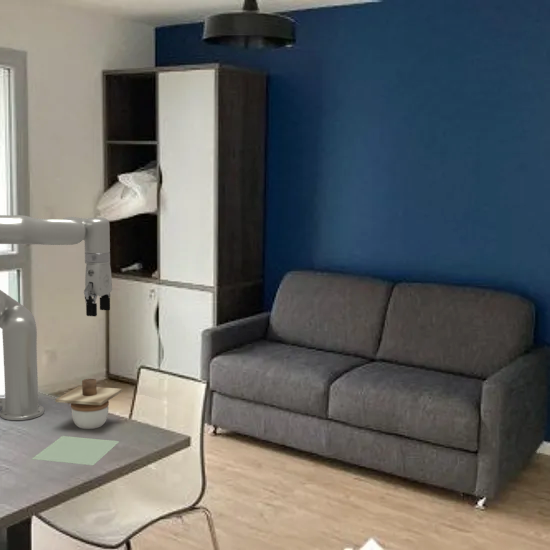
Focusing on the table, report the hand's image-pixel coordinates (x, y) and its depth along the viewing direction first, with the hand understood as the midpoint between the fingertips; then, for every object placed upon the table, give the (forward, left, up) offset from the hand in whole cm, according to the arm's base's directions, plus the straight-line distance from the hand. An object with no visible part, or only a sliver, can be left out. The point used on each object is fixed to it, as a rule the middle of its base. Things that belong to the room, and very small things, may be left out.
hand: (98, 312), depth 234 cm
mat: (+10, -37, -30) cm, 49 cm away
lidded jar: (+5, -18, -31) cm, 36 cm away
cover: (+5, -18, -21) cm, 28 cm away
